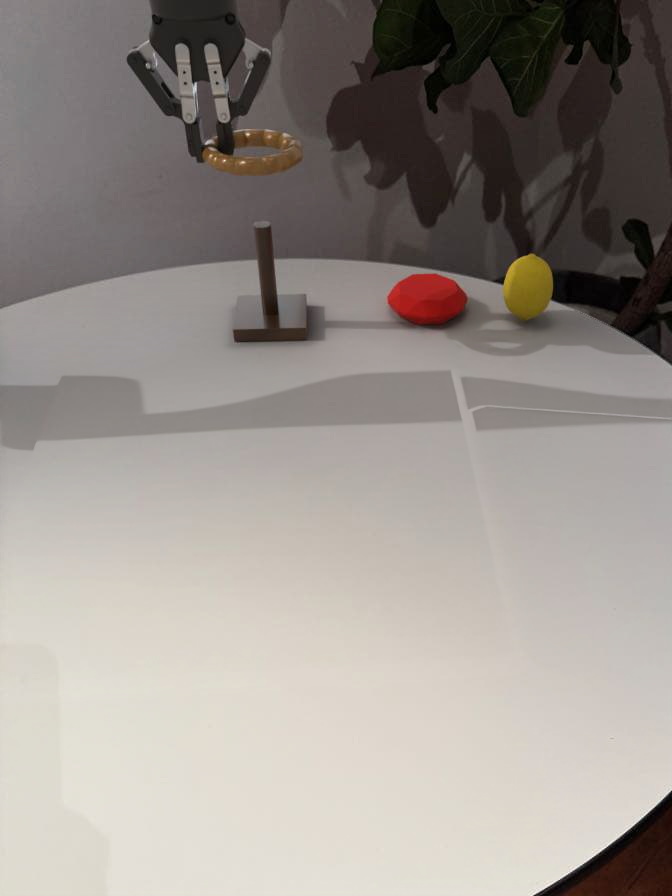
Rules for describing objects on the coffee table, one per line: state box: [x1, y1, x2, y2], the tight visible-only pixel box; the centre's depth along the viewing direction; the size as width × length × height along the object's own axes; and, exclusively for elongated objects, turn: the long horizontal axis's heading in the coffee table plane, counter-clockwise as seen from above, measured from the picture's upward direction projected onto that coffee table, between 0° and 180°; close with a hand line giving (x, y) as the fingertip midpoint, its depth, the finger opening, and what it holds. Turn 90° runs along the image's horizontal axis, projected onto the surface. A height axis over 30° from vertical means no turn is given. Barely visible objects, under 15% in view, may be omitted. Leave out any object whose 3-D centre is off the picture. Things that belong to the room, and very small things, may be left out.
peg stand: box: [232, 220, 308, 343], centre depth 96 cm, size 8×8×12 cm
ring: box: [203, 129, 304, 177], centre depth 85 cm, size 10×10×2 cm
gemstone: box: [386, 272, 468, 326], centre depth 101 cm, size 9×9×3 cm
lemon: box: [502, 253, 554, 322], centre depth 98 cm, size 6×6×8 cm
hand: (213, 159), depth 85 cm, fingers closed on ring, 1 cm apart
